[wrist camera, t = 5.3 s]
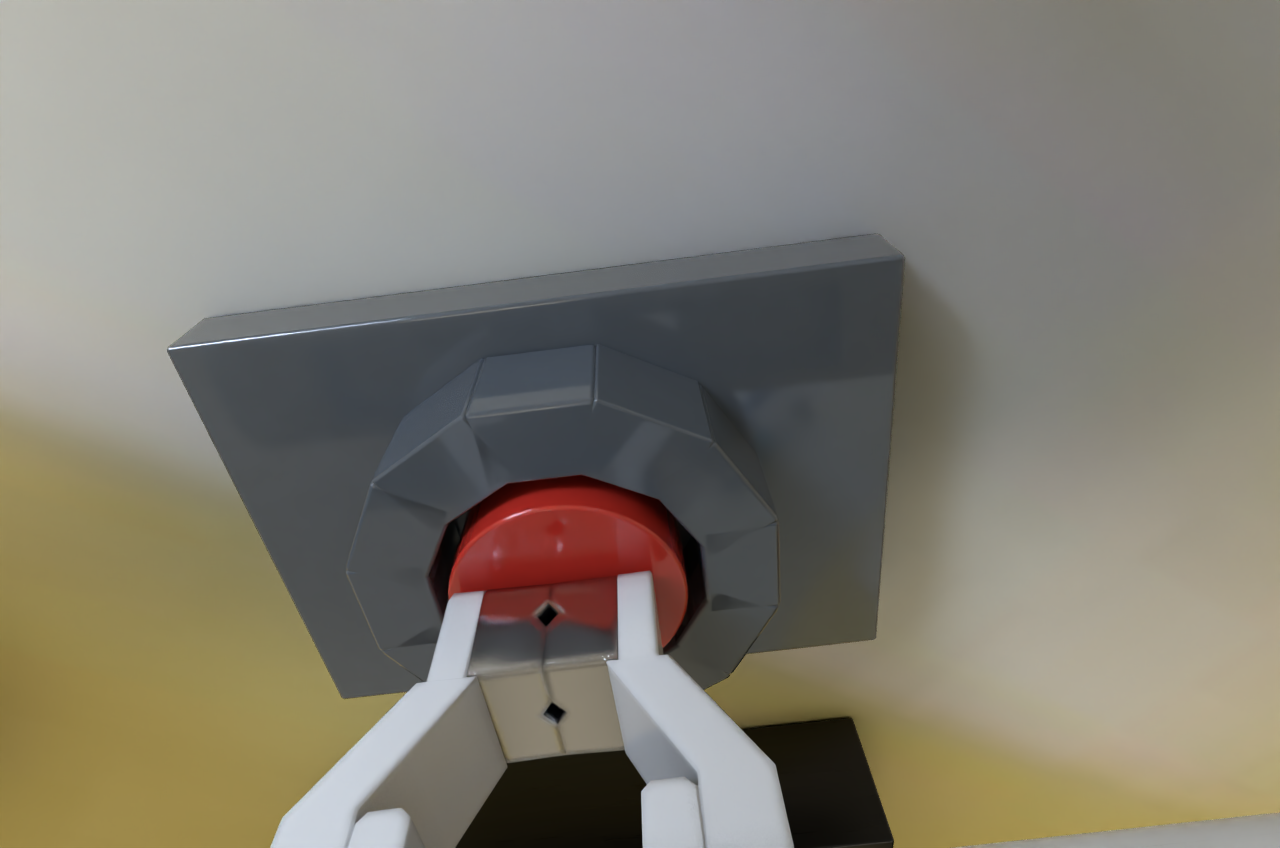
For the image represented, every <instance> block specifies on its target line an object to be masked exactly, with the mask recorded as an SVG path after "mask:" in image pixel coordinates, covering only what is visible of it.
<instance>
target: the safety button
mask: <svg viewBox="0 0 1280 848" xmlns="http://www.w3.org/2000/svg"><path fill="white" fill-rule="evenodd" d="M649 570H650V571H651V572H652V575H653V581H654V588H655V595H656V602H657V609H658V616H659V624H660V631H661V639H662V646H663V648H664V647H665V646H666V645H667V644H668V643H669V642H670V641H671V639H672V638H673V636H674V635H675V634H676V632H677V631H678V629H679V627H680V625H681V623H682V621H683V618H684V615H685V612H686V609H687V603H688V582H687V575H686V567H685V560H684V553H683V546H682V538H681V531H680V524H679V521H678V520H677V519H676V518H675V517H674V516H673V515H672V514H671V512H670V511H669V510H668V509H667V508H666V507H665V506H664V505H663V504H662V503H661V502H660V501H659V500H658V499H655V498H652V497H648V496H645V495H642V494H639V493H636V492H633V491H630V490H627V489H624V488H621V487H618V486H615V485H612V484H609V483H606V482H602V481H599V480H596V479H593V478H590V477H587V476H584V475H579V476H570V477H562V478H554V479H545V480H537V481H528V482H520V483H512V484H506V485H505V486H503V487H502V488H500V489H499V490H497V491H496V492H494V493H493V494H492V495H490V496H489V497H487V498H486V499H484V500H483V501H481V502H480V503H478V504H477V505H475V506H474V507H472V508H471V509H469V510H468V511H467V515H466V518H465V522H464V526H463V529H462V533H461V537H460V540H459V544H458V548H457V551H456V555H455V559H454V562H453V566H452V570H451V573H450V577H449V584H448V600H449V599H450V598H451V597H452V595H453V594H454V593H464V592H475V591H487V590H489V589H499V588H510V587H521V586H531V585H542V584H553V583H559V582H567V581H575V580H583V579H591V578H599V577H607V576H615V575H619V574H627V573H634V572H642V571H649Z"/></svg>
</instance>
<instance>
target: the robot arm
mask: <svg viewBox="0 0 1280 848" xmlns="http://www.w3.org/2000/svg"><path fill="white" fill-rule="evenodd" d="M620 750H625V753H626V754H627V756H628V757H629V759H630V760H631V762H632V763H633V765H634V766H635V768H636V769H637V771H638V772H639V774H640V775H641V777H642V778H643V780H644V781H645V783H646V784H647V785H646V787H645V788H644V789H643V790H642V791H641V808H642V844H643V848H794V845H793V840H792V836H791V831H790V827H789V823H788V818H787V814H786V809H785V805H784V800H783V796H782V791H781V787H780V782H779V778H778V774H777V769H776V765H775V764H774V763H773V761H772V760H771V759H770V758H769V757H768V756H767V755H766V754H765V753H764V752H763V751H762V750H761V749H760V748H759V747H758V746H757V745H756V744H755V743H754V742H753V741H752V740H751V739H750V738H749V737H748V736H747V735H746V734H745V733H744V731H743V730H742V729H741V728H740V727H739V726H738V725H737V724H736V723H735V722H734V721H733V720H732V719H731V718H730V717H729V716H728V715H727V714H726V713H725V712H724V711H723V710H722V709H721V708H720V707H719V706H718V705H717V704H716V702H715V701H714V700H713V699H712V698H711V697H710V696H709V695H708V694H707V693H706V692H705V691H704V690H703V689H702V688H701V687H700V686H699V685H698V684H697V683H696V682H695V681H694V680H693V679H692V678H691V677H690V676H689V675H688V673H687V672H686V671H685V670H684V669H683V668H682V667H681V666H680V665H679V664H678V663H677V662H676V661H675V660H674V659H673V658H672V657H671V656H670V655H669V654H667V655H664V654H663V646H662V639H661V631H660V624H659V616H658V609H657V602H656V595H655V588H654V581H653V575H652V572H651V571H650V570H649V571H642V572H634V573H627V574H619V575H615V576H607V577H599V578H591V579H583V580H575V581H567V582H559V583H553V584H542V585H531V586H521V587H510V588H499V589H489V590H487V591H475V592H464V593H454V594H453V595H452V597H451V598H450V599H449V601H448V603H447V607H446V611H445V615H444V618H443V622H442V626H441V629H440V633H439V637H438V641H437V644H436V648H435V652H434V656H433V659H432V663H431V667H430V671H429V674H428V678H427V682H422V683H416V684H415V685H414V686H413V687H412V688H411V689H410V690H409V691H408V692H407V693H406V694H405V695H404V696H403V697H402V698H401V699H400V700H399V701H398V702H397V703H396V704H395V705H394V706H393V707H392V708H391V709H390V710H389V711H388V712H387V713H386V714H385V715H384V716H383V717H382V718H381V719H380V720H379V721H378V722H377V723H376V724H375V725H374V726H373V727H372V728H371V729H370V730H369V731H368V732H367V733H366V734H365V735H364V736H363V737H362V738H361V739H360V740H359V741H358V742H357V743H356V744H355V745H354V746H353V747H352V748H351V749H350V750H349V751H348V752H347V753H346V754H345V755H344V756H343V757H342V758H341V759H340V760H339V761H338V762H337V763H336V764H335V765H334V766H333V767H332V768H331V769H330V770H329V771H328V772H327V773H326V774H325V775H324V776H323V777H322V778H321V779H320V780H319V781H318V782H317V783H316V784H315V785H314V786H313V787H312V788H311V789H310V790H309V791H308V792H307V793H306V794H305V795H304V796H303V797H302V798H301V799H300V800H299V801H298V802H297V803H296V804H295V805H294V806H293V807H292V808H291V809H290V810H289V811H288V812H287V813H286V814H285V815H284V816H283V817H282V819H281V822H280V824H279V827H278V829H277V832H276V834H275V837H274V839H273V842H272V844H271V847H270V848H455V847H456V845H457V844H458V842H459V841H460V839H461V838H462V836H463V835H464V833H465V832H466V830H467V829H468V827H469V826H470V824H471V822H472V821H473V819H474V818H475V816H476V815H477V813H478V812H479V810H480V809H481V807H482V806H483V804H484V802H485V801H486V799H487V798H488V796H489V795H490V793H491V792H492V790H493V789H494V787H495V786H496V784H497V782H498V781H499V779H500V778H501V776H502V775H503V773H504V772H505V770H506V769H507V764H506V763H513V762H520V761H527V760H534V759H541V758H548V757H555V756H562V755H572V754H584V753H596V752H608V751H620ZM952 848H1280V812H1279V813H1270V814H1261V815H1251V816H1242V817H1233V818H1223V819H1214V820H1205V821H1195V822H1186V823H1177V824H1167V825H1158V826H1149V827H1139V828H1130V829H1121V830H1111V831H1102V832H1093V833H1083V834H1074V835H1065V836H1055V837H1046V838H1036V839H1027V840H1018V841H1008V842H999V843H990V844H980V845H971V846H962V847H952Z"/></svg>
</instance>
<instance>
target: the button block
mask: <svg viewBox="0 0 1280 848" xmlns="http://www.w3.org/2000/svg"><path fill="white" fill-rule="evenodd" d="M904 266H905V257H904V255H903V254H902V253H901V252H900V251H899V250H897V249H896V248H895V247H894V246H893V245H892V244H891V243H889V242H888V241H887V240H886V239H885V238H884V237H882V236H881V235H880V234H869V235H861V236H853V237H846V238H838V239H830V240H822V241H814V242H806V243H798V244H790V245H782V246H774V247H767V248H759V249H751V250H743V251H735V252H727V253H719V254H711V255H703V256H695V257H687V258H680V259H672V260H664V261H656V262H648V263H640V264H632V265H624V266H616V267H608V268H600V269H593V270H585V271H577V272H569V273H561V274H553V275H545V276H537V277H529V278H521V279H514V280H506V281H498V282H490V283H482V284H474V285H466V286H458V287H450V288H442V289H434V290H427V291H419V292H411V293H403V294H395V295H387V296H379V297H371V298H363V299H355V300H348V301H340V302H332V303H324V304H316V305H308V306H300V307H292V308H284V309H276V310H268V311H261V312H253V313H245V314H237V315H229V316H221V317H213V318H205V319H203V320H202V321H200V322H199V323H198V324H197V325H195V326H194V327H193V328H192V329H190V330H189V331H188V332H187V333H185V334H184V335H183V336H182V337H180V338H179V339H178V340H176V341H175V342H174V343H173V344H171V345H170V346H169V347H168V348H167V352H168V354H169V356H170V358H171V360H172V362H173V364H174V366H175V368H176V370H177V372H178V374H179V376H180V378H181V380H182V382H183V384H184V386H185V388H186V390H187V392H188V394H189V396H190V398H191V400H192V402H193V404H194V406H195V408H196V410H197V412H198V414H199V416H200V418H201V420H202V422H203V424H204V426H205V428H206V430H207V432H208V434H209V436H210V438H211V440H212V442H213V444H214V445H215V447H216V449H217V451H218V453H219V455H220V457H221V459H222V461H223V463H224V465H225V467H226V469H227V471H228V473H229V475H230V477H231V479H232V481H233V483H234V485H235V487H236V489H237V491H238V493H239V495H240V497H241V499H242V501H243V503H244V505H245V507H246V509H247V511H248V513H249V515H250V517H251V519H252V521H253V523H254V525H255V527H256V529H257V531H258V533H259V535H260V537H261V539H262V541H263V543H264V545H265V547H266V549H267V551H268V553H269V555H270V557H271V559H272V561H273V563H274V564H275V566H276V568H277V570H278V572H279V574H280V576H281V578H282V580H283V582H284V584H285V586H286V588H287V590H288V592H289V594H290V596H291V598H292V600H293V602H294V604H295V606H296V608H297V610H298V612H299V614H300V616H301V618H302V620H303V622H304V624H305V626H306V628H307V630H308V632H309V634H310V636H311V638H312V640H313V642H314V644H315V646H316V648H317V650H318V652H319V654H320V656H321V658H322V660H323V662H324V664H325V666H326V668H327V670H328V672H329V674H330V676H331V678H332V680H333V681H334V683H335V685H336V687H337V689H338V691H339V693H340V695H341V697H342V698H343V699H348V698H357V697H366V696H375V695H384V694H393V693H402V692H408V691H409V690H410V689H411V688H412V687H413V686H414V685H415V684H416V683H422V682H427V678H428V674H429V671H430V667H431V663H432V659H433V656H434V652H435V648H436V644H437V641H438V637H439V633H440V629H441V626H442V622H443V618H444V615H445V611H446V607H447V603H448V601H449V600H448V584H449V577H450V573H451V570H452V566H453V562H454V559H455V555H456V551H457V548H458V544H459V540H460V537H461V533H462V529H463V526H464V522H465V518H466V515H467V511H468V510H469V509H471V508H472V507H474V506H475V505H477V504H478V503H480V502H481V501H483V500H484V499H486V498H487V497H489V496H490V495H492V494H493V493H494V492H496V491H497V490H499V489H500V488H502V487H503V486H505V485H506V484H512V483H520V482H528V481H537V480H545V479H554V478H562V477H570V476H579V475H584V476H587V477H590V478H593V479H596V480H599V481H602V482H606V483H609V484H612V485H615V486H618V487H621V488H624V489H627V490H630V491H633V492H636V493H639V494H642V495H645V496H648V497H652V498H655V499H658V500H659V501H660V502H661V503H662V504H663V505H664V506H665V507H666V508H667V509H668V510H669V511H670V512H671V514H672V515H673V516H674V517H675V518H676V519H677V520H678V521H679V524H680V531H681V538H682V546H683V553H684V560H685V567H686V575H687V582H688V603H687V609H686V612H685V615H684V618H683V621H682V623H681V625H680V627H679V629H678V631H677V632H676V634H675V635H674V636H673V638H672V639H671V641H670V642H669V643H668V644H667V645H666V646H665V647H664V648H663V654H664V655H667V654H669V655H670V656H671V657H672V658H673V659H674V660H675V661H676V662H677V663H678V664H679V665H680V666H681V667H682V668H683V669H684V670H685V671H686V672H687V673H688V675H689V676H690V677H691V678H692V679H693V680H694V681H695V682H696V683H697V684H698V685H699V686H700V687H701V688H702V689H703V690H704V689H706V688H708V687H710V686H712V685H714V684H716V683H718V682H720V681H722V680H724V679H726V678H728V677H729V676H730V673H732V672H733V671H734V670H735V669H736V667H737V666H738V664H739V663H740V662H741V660H742V659H743V657H744V656H745V655H746V654H752V653H761V652H769V651H778V650H787V649H796V648H805V647H814V646H823V645H832V644H841V643H850V642H859V641H868V640H874V639H876V632H877V619H878V606H879V593H880V580H881V567H882V554H883V541H884V528H885V515H886V502H887V488H888V475H889V462H890V449H891V436H892V423H893V410H894V397H895V384H896V371H897V357H898V344H899V331H900V318H901V305H902V292H903V279H904Z"/></svg>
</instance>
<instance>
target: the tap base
mask: <svg viewBox="0 0 1280 848" xmlns="http://www.w3.org/2000/svg"><path fill="white" fill-rule="evenodd" d="M743 731H744V733H745V734H746V735H747V736H748V737H749V738H750V739H751V740H752V741H753V742H754V743H755V744H756V745H757V746H758V747H759V748H760V749H761V750H762V751H763V752H764V753H765V754H766V755H767V756H768V757H769V758H770V759H771V760H772V761H773V763H774V764H775V765H776V769H777V774H778V778H779V782H780V787H781V791H782V796H783V800H784V805H785V809H786V814H787V818H788V823H789V827H790V831H791V836H792V840H793V845H794V848H893V844H894V839H893V836H892V833H891V830H890V827H889V824H888V821H887V818H886V815H885V812H884V810H883V807H882V804H881V801H880V798H879V795H878V792H877V789H876V786H875V783H874V780H873V777H872V774H871V771H870V768H869V766H868V763H867V760H866V757H865V754H864V751H863V748H862V745H861V742H860V739H859V736H858V733H857V730H856V727H855V724H854V721H853V719H852V718H846V719H837V720H828V721H818V722H809V723H800V724H791V725H782V726H773V727H763V728H754V729H745V730H743ZM506 764H507V769H506V770H505V772H504V773H503V775H502V776H501V778H500V779H499V781H498V782H497V784H496V786H495V787H494V789H493V790H492V792H491V793H490V795H489V796H488V798H487V799H486V801H485V802H484V804H483V806H482V807H481V809H480V810H479V812H478V813H477V815H476V816H475V818H474V819H473V821H472V822H471V824H470V826H469V827H468V829H467V830H466V832H465V833H464V835H463V836H462V838H461V839H460V841H459V842H458V844H457V845H456V847H455V848H643V844H642V808H641V791H642V790H643V789H644V788H645V787H646V785H647V784H646V783H645V781H644V780H643V778H642V777H641V775H640V774H639V772H638V771H637V769H636V768H635V766H634V765H633V763H632V762H631V760H630V759H629V757H628V756H627V754H626V753H625V750H620V751H608V752H596V753H584V754H572V755H562V756H555V757H548V758H541V759H534V760H527V761H520V762H513V763H506Z"/></svg>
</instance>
